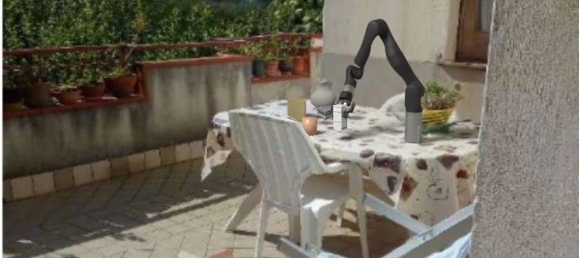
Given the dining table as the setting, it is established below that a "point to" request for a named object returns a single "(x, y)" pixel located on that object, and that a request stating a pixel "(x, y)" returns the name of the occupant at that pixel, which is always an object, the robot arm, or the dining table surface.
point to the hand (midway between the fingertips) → (339, 117)
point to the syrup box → (339, 117)
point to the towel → (324, 112)
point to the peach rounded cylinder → (310, 125)
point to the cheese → (296, 108)
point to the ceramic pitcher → (322, 93)
